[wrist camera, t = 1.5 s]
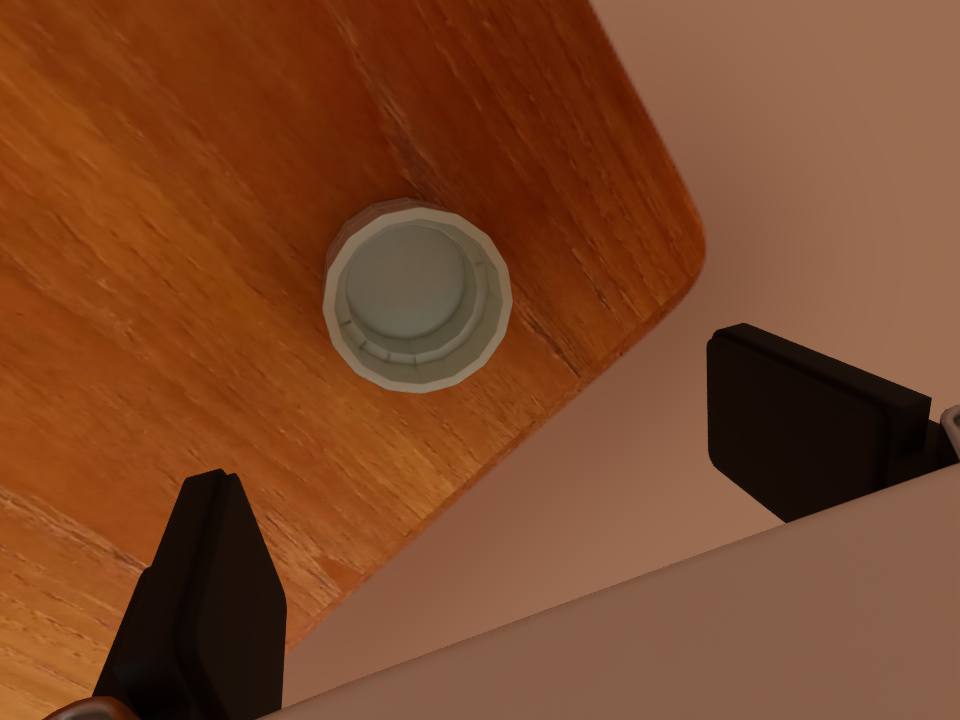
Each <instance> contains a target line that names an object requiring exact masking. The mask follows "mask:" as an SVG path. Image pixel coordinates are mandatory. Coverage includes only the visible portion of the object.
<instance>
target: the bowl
mask: <svg viewBox="0 0 960 720" xmlns="http://www.w3.org/2000/svg"><path fill="white" fill-rule="evenodd" d="M512 304H513V298H512V291H511V284H510V278H509V271H508V267H507V265H506V263H505V261H504V260H503V258H502V256H501V255H500V253H499V251H498V250H497V248H496V247H495V245H494V243H493V242H492V240H491V238H490V237H489V236H488V235H487V234H486V233H484V232H483V231H481V230H480V229H478V228H477V227H476V226H474V225H473V224H471V223H470V222H468V221H467V220H466V219H464V218H463V217H461V216H460V215H458V214H456V213H454V212H452V211H450V210H448V209H446V208H444V207H442V206H440V205H438V204H436V203H432V202H427V201H422V200H417V199H412V198H408V197H402V198H397V199H392V200H387V201H382V202H378V203H373V204H371V205H369V206H368V207H366V208H365V209H363V210H362V211H361V212H359V213H358V214H356V215H355V216H353V217H352V218H351V219H349V220H348V221H346V222H345V223H344V224H343V225H342V227H341V229H340V230H339V232H338V234H337V235H336V237H335V238H334V240H333V242H332V243H331V245H330V247H329V248H328V250H327V253H326V257H325V264H324V272H323V279H322V309H323V314H324V318H325V321H326V325H327V328H328V332H329V335H330V339H331V342H332V345H333V347H334V348H335V349H336V351H337V352H338V353H339V354H340V355H341V357H342V358H343V359H344V360H345V361H346V363H347V364H348V365H349V366H350V367H351V368H352V370H353V371H354V372H355V373H356V374H357V375H359V376H361V377H363V378H365V379H367V380H369V381H371V382H373V383H375V384H377V385H379V386H380V387H382V388H384V389H386V390H391V391H401V392H411V393H421V394H422V393H427V392H431V391H435V390H439V389H442V388H446V387H450V386H454V385H456V384H458V383H460V382H461V381H463V380H464V379H465V378H467V377H468V376H470V375H471V374H473V373H474V372H475V371H477V370H478V369H480V368H481V367H482V366H484V365H485V364H486V363H487V361H488V360H489V358H490V357H491V355H492V354H493V353H494V351H495V350H496V348H497V347H498V345H499V344H500V342H501V341H502V339H503V338H504V335H505V334H506V329H507V325H508V321H509V317H510V313H511V308H512Z"/></svg>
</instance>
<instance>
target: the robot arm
mask: <svg viewBox="0 0 960 720" xmlns="http://www.w3.org/2000/svg"><path fill="white" fill-rule="evenodd" d="M931 400H932V398H931V397H928V396H926V395H923V394H921V393H918V392H916V391H913V390H911V389H908V388H906V387H904V386H901V385H898V384H896V383H894V382H891V381H888V380H886V379H884V378H881V377H879V376H876V375H873V374H871V373H868V372H866V371H864V370H861V369H859V368H856V367H854V366H851V365H849V364H846V363H844V362H841V361H839V360H836V359H834V358H831V357H829V356H826V355H824V354H821V353H819V352H816V351H814V350H811V349H809V348H806V347H804V346H802V345H799V344H797V343H794V342H792V341H789V340H787V339H784V338H782V337H779V336H777V335H774V334H772V333H769V332H767V331H764V330H762V329H759V328H757V327H754V326H752V325H749V324H746V323H741V324H737V325H734V326H730V327H726V328H723V329H719V330H717V331H715V333H714V334H713V336H712V339H710V340H709V341H708V343H707V406H708V407H707V409H708V452H709V457H710V460H711V461H712V464H713V465H714V466H715V467H716V468H717V469H718V470H719V471H720V472H722V473H723V474H724V475H725V476H727V477H728V478H729V479H730V480H732V481H733V482H734V483H735V484H737V485H738V486H739V487H740V488H742V489H743V490H744V491H745V492H747V493H748V494H749V495H751V496H752V497H753V498H754V499H756V500H757V501H758V502H759V503H761V504H762V505H763V506H764V507H766V508H767V509H768V510H769V511H771V512H772V513H773V514H775V515H776V516H777V517H778V518H780V519H781V520H782V521H783V522H785V523H786V524H783V525H780V526H778V527H775V528H772V529H770V530H766V531H764V532H761V533H758V534H755V535H752V536H750V537H747V538H744V539H741V540H738V541H736V542H733V543H730V544H727V545H724V546H721V547H719V548H716V549H713V550H710V551H707V552H705V553H702V554H699V555H696V556H693V557H691V558H688V559H685V560H682V561H680V562H677V563H674V564H671V565H669V566H666V567H663V568H661V569H658V570H655V571H652V572H649V573H647V574H644V575H641V576H638V577H635V578H633V579H630V580H627V581H625V582H622V583H619V584H616V585H613V586H611V587H608V588H605V589H603V590H600V591H597V592H594V593H591V594H589V595H586V596H583V597H580V598H578V599H575V600H572V601H570V602H567V603H564V604H561V605H558V606H556V607H553V608H550V609H547V610H545V611H542V612H539V613H537V614H534V615H531V616H528V617H526V618H523V619H520V620H517V621H515V622H512V623H509V624H506V625H504V626H501V627H498V628H496V629H493V630H490V631H488V632H485V633H482V634H479V635H477V636H474V637H472V638H469V639H466V640H463V641H461V642H458V643H455V644H452V645H450V646H447V647H444V648H441V649H439V650H436V651H433V652H430V653H428V654H425V655H422V656H419V657H417V658H414V659H411V660H408V661H406V662H403V663H400V664H398V665H395V666H392V667H389V668H387V669H384V670H381V671H378V672H376V673H373V674H370V675H367V676H365V677H362V678H359V679H357V680H354V681H351V682H348V683H346V684H344V685H341V686H338V687H336V688H334V689H331V690H328V691H326V692H323V693H321V694H318V695H316V696H313V697H311V698H308V699H306V700H303V701H301V702H298V703H296V704H293V705H291V706H289V707H286V708H284V709H281V707H282V689H283V671H284V653H285V635H286V617H287V605H286V598H285V593H284V590H283V587H282V585H281V582H280V580H279V577H278V575H277V572H276V569H275V567H274V564H273V562H272V559H271V557H270V554H269V552H268V549H267V547H266V544H265V542H264V539H263V537H262V534H261V532H260V529H259V527H258V524H257V522H256V519H255V516H254V514H253V511H252V509H251V506H250V504H249V501H248V499H247V496H246V494H245V491H244V489H243V486H242V484H241V481H240V479H239V477H238V475H237V474H236V473H233V474H229V475H226V473H225V472H224V470H222V469H221V468H220V469H217V470H213V471H209V472H206V473H202V474H199V475H195V476H191V477H188V478H186V479H185V480H184V483H183V485H182V488H181V490H180V493H179V496H178V498H177V501H176V503H175V506H174V508H173V511H172V514H171V516H170V519H169V521H168V524H167V527H166V529H165V532H164V534H163V537H162V540H161V542H160V545H159V547H158V550H157V553H156V555H155V558H154V560H153V563H152V565H151V567H148V568H147V569H145V570H144V571H143V573H142V574H141V576H140V578H139V580H138V583H137V585H136V588H135V590H134V593H133V595H132V598H131V600H130V603H129V605H128V608H127V610H126V613H125V615H124V617H123V620H122V622H121V625H120V627H119V630H118V632H117V635H116V637H115V640H114V642H113V645H112V647H111V650H110V652H109V655H108V657H107V660H106V662H105V665H104V667H103V670H102V672H101V675H100V677H99V680H98V682H97V684H96V687H95V689H94V692H93V694H92V697H89V698H86V699H82V700H79V701H75V702H73V703H71V704H69V705H67V706H65V707H63V708H61V709H58V710H56V711H54V712H53V713H51V714H50V715H48V716H47V717H45V718H44V719H42V720H960V405H955V406H953V407H951V408H949V409H946V410H945V411H944V412H943V413H942V415H941V419H940V424H938V423H936V422H934V421H932V420H929V413H930V406H931Z"/></svg>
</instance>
